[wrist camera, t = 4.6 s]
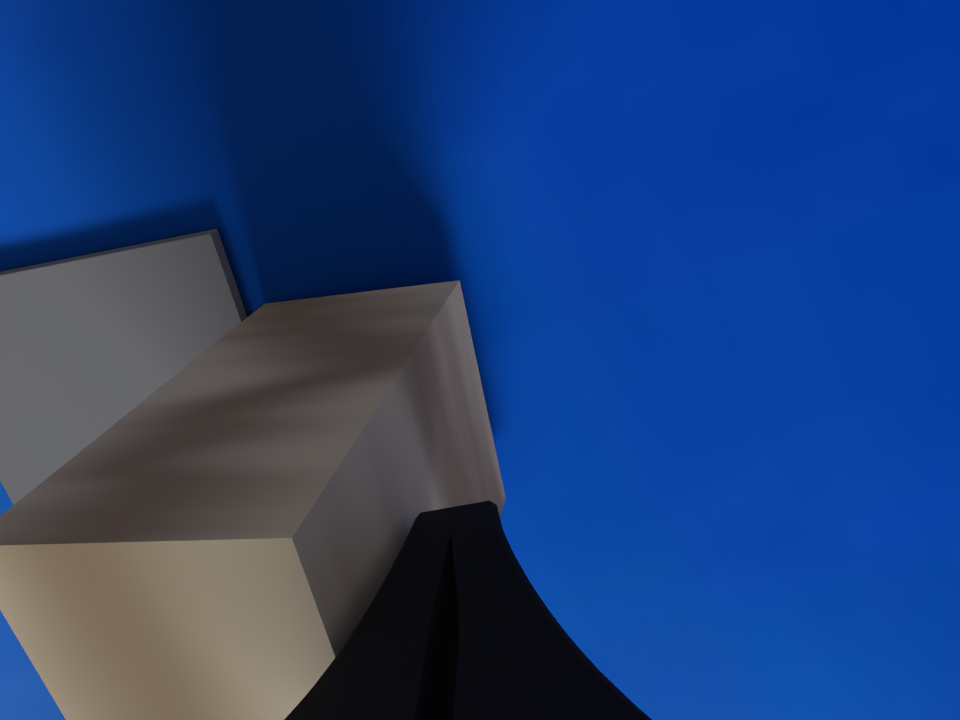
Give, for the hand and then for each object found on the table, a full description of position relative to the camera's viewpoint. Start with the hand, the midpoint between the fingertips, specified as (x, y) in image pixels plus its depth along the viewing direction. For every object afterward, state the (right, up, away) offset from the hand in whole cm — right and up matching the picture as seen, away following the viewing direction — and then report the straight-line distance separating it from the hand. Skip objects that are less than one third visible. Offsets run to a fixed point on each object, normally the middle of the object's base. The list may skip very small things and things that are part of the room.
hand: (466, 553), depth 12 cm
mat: (-9, +1, +7) cm, 11 cm away
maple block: (-2, +2, +6) cm, 7 cm away
